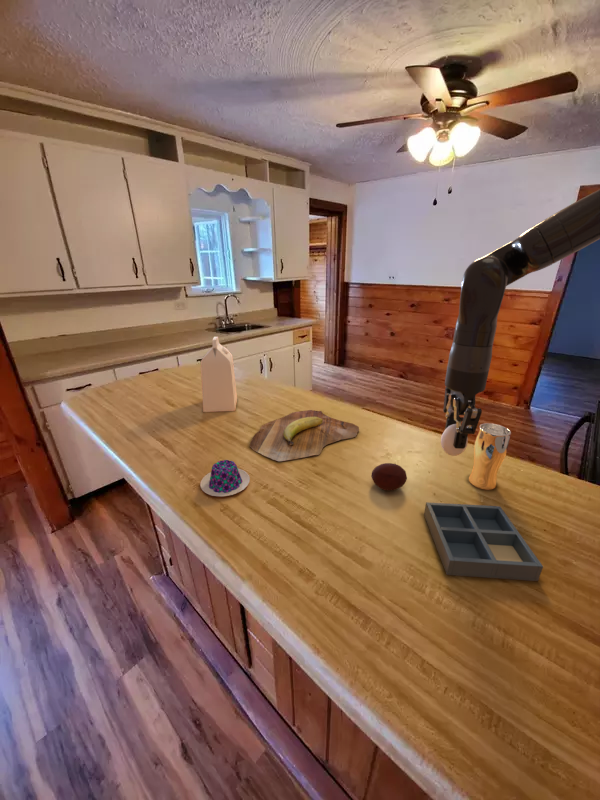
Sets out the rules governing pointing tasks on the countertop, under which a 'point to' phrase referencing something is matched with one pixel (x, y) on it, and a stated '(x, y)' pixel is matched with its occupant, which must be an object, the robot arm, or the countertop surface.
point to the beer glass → (489, 454)
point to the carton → (480, 542)
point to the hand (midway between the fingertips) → (454, 440)
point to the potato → (389, 476)
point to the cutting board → (300, 435)
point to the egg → (451, 441)
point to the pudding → (224, 479)
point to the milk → (218, 379)
